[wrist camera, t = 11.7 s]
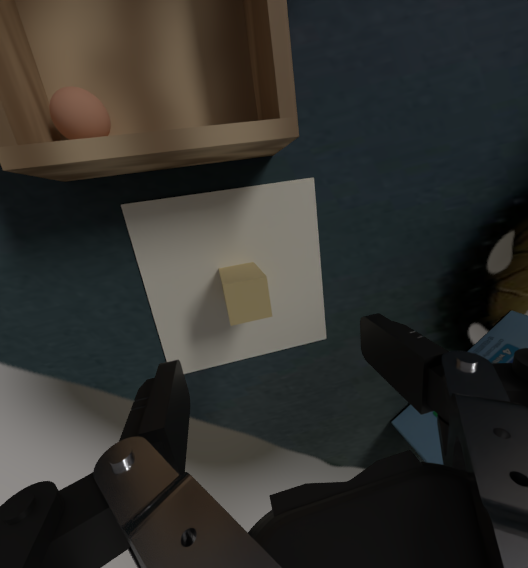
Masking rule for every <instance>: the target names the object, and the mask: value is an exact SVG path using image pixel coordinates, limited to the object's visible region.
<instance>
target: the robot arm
mask: <svg viewBox="0 0 528 568" xmlns="http://www.w3.org/2000/svg"><path fill="white" fill-rule="evenodd" d="M360 332H361V350H362V354H363V356H364V358H365V360H366V361H367V362H368V363H369V364H370V365H371V366H372V367H373V368H374V369H375V370H376V371H377V372H378V373H379V374H380V375H381V376H382V377H383V378H384V379H385V380H386V381H387V382H388V383H389V384H390V385H391V386H392V387H393V388H394V389H395V390H396V391H397V392H398V393H399V394H400V395H401V396H402V397H404V398H405V399H406V400H407V401H408V402H409V403H410V404H411V405H412V406H413V407H414V408H415V409H416V410H417V411H418V412H419V413H420V414H421V415H422V414H426V413H429V412H432V411H435V412H436V413H437V425H438V432H439V439H440V446H441V453H442V459H443V465H441V464H436V463H427V462H420V461H419V460H418V459H417V458H416V457H415V455H414V454H413V453H412V452H411V451H410V450H409V451H406V452H402V453H399V454H396V455H393V456H390V457H387V458H384V459H381V460H378V461H376V462H375V463H374V464H372V465H371V466H369V467H368V468H367V469H365V470H364V471H362V472H361V473H360V474H358V475H357V476H356V477H354V478H353V479H351V480H349V481H347V482H333V483H310V484H304V485H301V486H297V487H294V488H291V489H288V490H285V491H282V492H279V493H276V494H273V495H270V500H271V505H272V510H271V511H270V512H268V513H267V514H266V515H265V516H264V517H262V518H261V519H260V520H259V521H258V522H257V523H256V524H255V525H254V526H253V527H252V528H251V530H250V531H249V532H248V533H247V532H246V531H245V530H244V529H243V528H242V527H241V526H240V525H239V524H238V523H237V522H236V521H235V520H234V519H233V518H232V517H231V515H230V514H229V513H228V512H227V511H226V510H225V509H224V508H223V507H222V506H221V505H220V504H219V503H218V502H217V501H216V500H215V499H214V498H213V497H212V496H211V495H210V494H209V493H208V492H207V491H206V490H205V489H204V488H203V487H202V486H201V485H200V484H199V483H198V482H197V481H196V480H195V479H194V478H193V477H192V476H191V475H190V474H189V473H187V472H185V462H186V450H187V439H188V427H189V415H190V396H189V391H188V387H187V384H186V380H185V377H184V373H183V370H182V366H181V363H180V361H179V360H174V361H170V362H165V363H161V364H159V366H158V369H157V373H156V376H155V378H152V379H148V380H146V382H145V383H144V384H143V385H142V386H141V387H140V388H139V390H138V392H137V395H136V397H135V402H134V403H133V405H132V408H131V411H130V414H129V416H128V419H127V422H126V424H125V427H124V430H123V432H122V435H121V438H120V440H119V442H118V443H116V444H115V445H113V446H112V447H111V448H109V449H108V450H107V451H106V452H105V453H104V454H103V455H102V456H101V457H100V459H99V460H98V462H97V464H96V465H95V468H94V472H93V473H91V474H89V475H88V476H86V477H84V478H82V479H80V480H78V481H77V482H75V483H73V484H71V485H69V486H68V487H65V488H63V489H62V490H60V491H58V489H57V487H56V485H55V484H54V483H53V482H50V481H43V482H38V483H35V484H33V485H30V486H28V487H26V488H24V489H23V490H21V491H19V492H18V493H16V494H15V495H13V496H12V497H11V498H10V499H8V500H7V501H6V502H5V503H4V504H2V505H1V506H0V568H101V567H102V566H104V565H105V564H107V563H108V562H109V561H111V560H112V559H114V558H116V557H117V556H118V555H120V554H121V553H123V552H124V551H126V550H127V549H128V551H129V553H130V554H131V556H132V558H133V560H134V562H135V564H136V565H137V567H138V568H528V348H522V349H518V350H517V351H515V353H514V358H513V363H491V362H490V361H489V360H487V359H486V358H484V357H482V356H480V355H477V354H474V353H471V352H466V351H450V352H449V351H447V350H445V349H444V348H442V347H440V346H439V345H437V344H435V343H434V342H432V341H430V340H429V339H427V338H426V337H422V335H421V334H419V333H417V332H415V331H414V330H412V329H411V328H409V327H407V326H406V325H403V324H400V323H397V322H394V321H391V320H389V319H387V318H386V317H384V316H383V315H381V314H379V313H377V314H373V315H369V316H364V317H362V318H361V320H360Z"/></svg>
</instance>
